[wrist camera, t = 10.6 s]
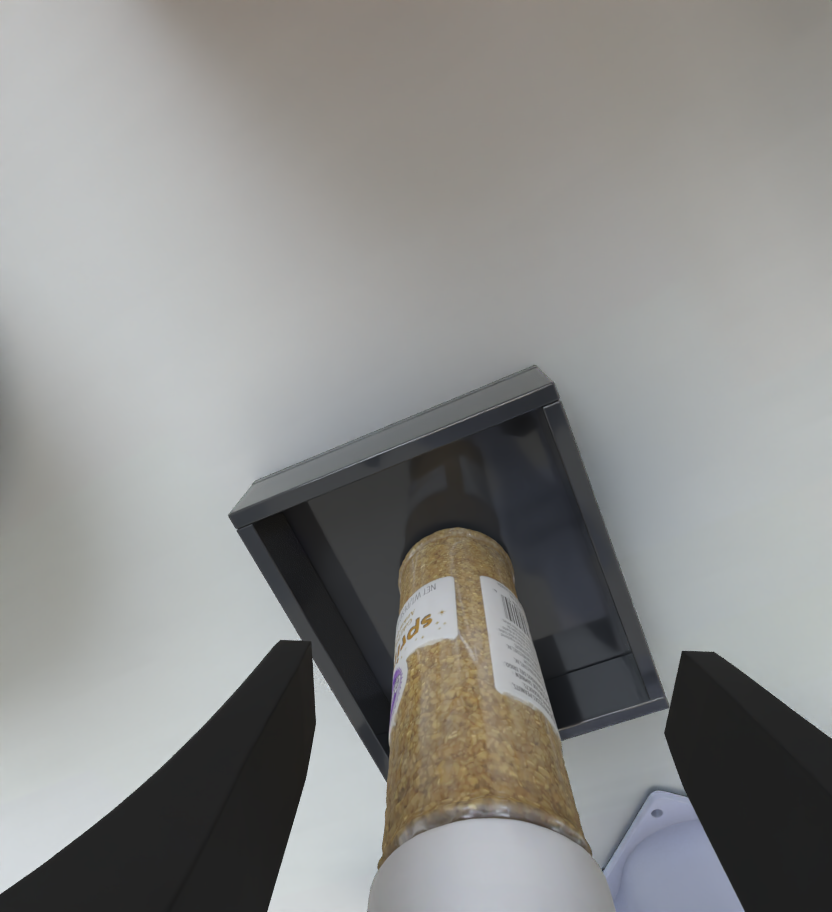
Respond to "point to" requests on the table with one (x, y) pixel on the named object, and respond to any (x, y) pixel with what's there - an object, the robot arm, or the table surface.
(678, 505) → the table surface
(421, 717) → the sprinkles bottle
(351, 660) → the dark gray square tray
